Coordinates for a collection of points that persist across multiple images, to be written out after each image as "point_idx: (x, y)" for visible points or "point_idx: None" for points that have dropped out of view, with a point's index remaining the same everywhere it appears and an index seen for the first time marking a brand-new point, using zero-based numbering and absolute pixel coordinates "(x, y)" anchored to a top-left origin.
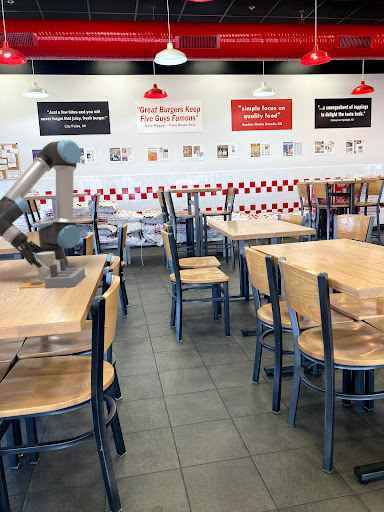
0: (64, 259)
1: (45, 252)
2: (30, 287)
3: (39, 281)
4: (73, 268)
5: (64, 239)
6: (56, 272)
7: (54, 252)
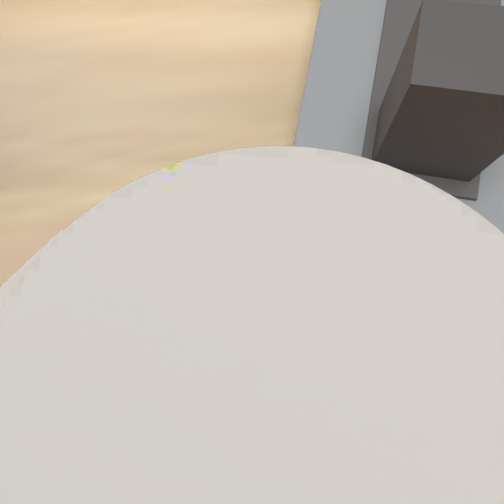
0: (441, 3)
1: (119, 486)
2: None
3: None
4: (327, 23)
5: None
6: None
7: (282, 151)
